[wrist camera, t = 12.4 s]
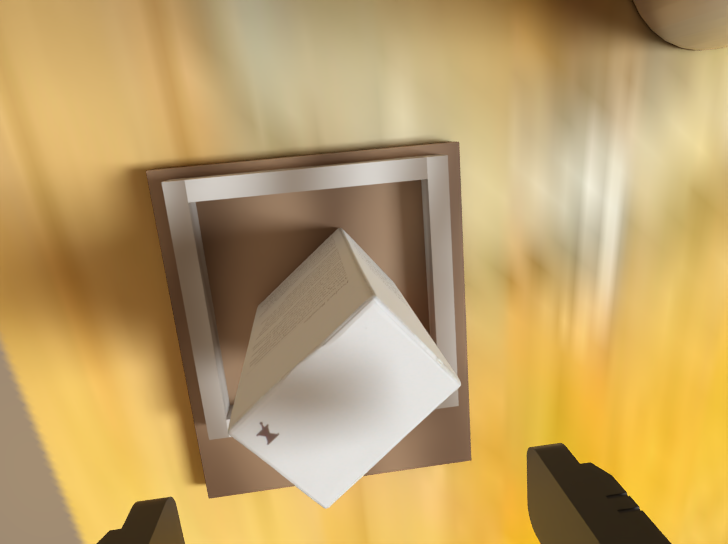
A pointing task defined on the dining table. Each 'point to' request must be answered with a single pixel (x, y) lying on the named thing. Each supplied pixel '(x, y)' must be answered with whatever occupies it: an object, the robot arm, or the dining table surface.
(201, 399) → the brown shallow box
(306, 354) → the skincare box
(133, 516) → the robot arm
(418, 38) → the dining table surface
